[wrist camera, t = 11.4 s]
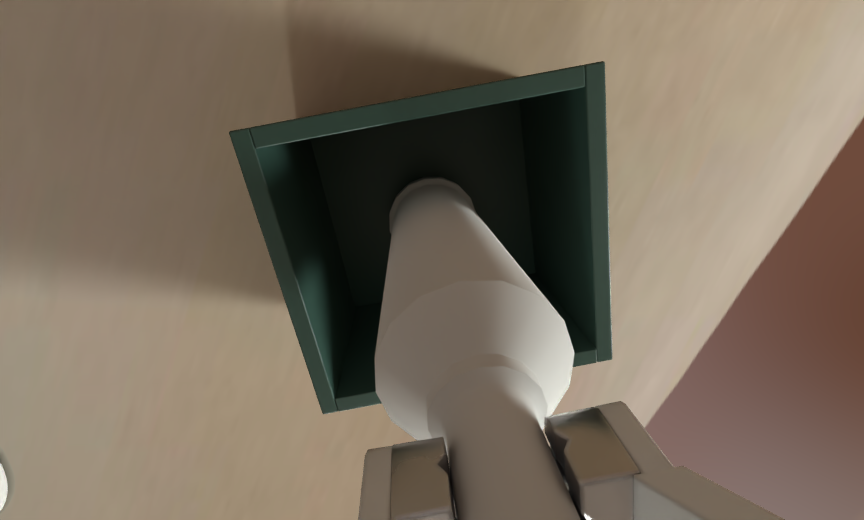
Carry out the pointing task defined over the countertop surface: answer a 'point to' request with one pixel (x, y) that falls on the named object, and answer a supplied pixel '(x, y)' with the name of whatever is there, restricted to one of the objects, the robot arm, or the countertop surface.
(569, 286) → the bin
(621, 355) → the countertop surface
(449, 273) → the bottle
